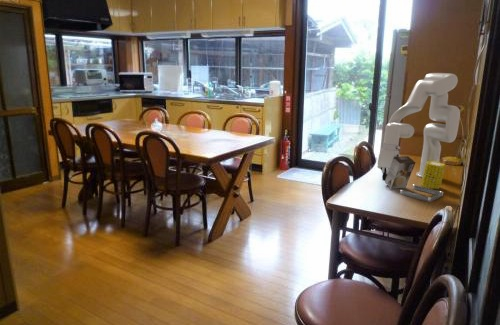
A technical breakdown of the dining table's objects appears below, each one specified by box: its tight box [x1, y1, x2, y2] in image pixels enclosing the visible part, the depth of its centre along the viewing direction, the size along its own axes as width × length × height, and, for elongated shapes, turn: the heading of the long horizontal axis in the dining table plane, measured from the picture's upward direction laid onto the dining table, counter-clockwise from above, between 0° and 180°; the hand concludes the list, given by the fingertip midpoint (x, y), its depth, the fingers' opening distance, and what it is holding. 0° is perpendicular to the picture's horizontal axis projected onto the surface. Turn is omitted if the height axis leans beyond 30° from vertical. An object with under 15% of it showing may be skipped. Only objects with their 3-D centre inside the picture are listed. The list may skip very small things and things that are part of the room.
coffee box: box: [384, 156, 416, 189], centre depth 193 cm, size 9×6×16 cm
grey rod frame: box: [399, 184, 444, 203], centre depth 185 cm, size 15×15×2 cm
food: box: [420, 161, 446, 190], centre depth 196 cm, size 15×12×10 cm
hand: (385, 180), depth 200 cm, fingers closed
